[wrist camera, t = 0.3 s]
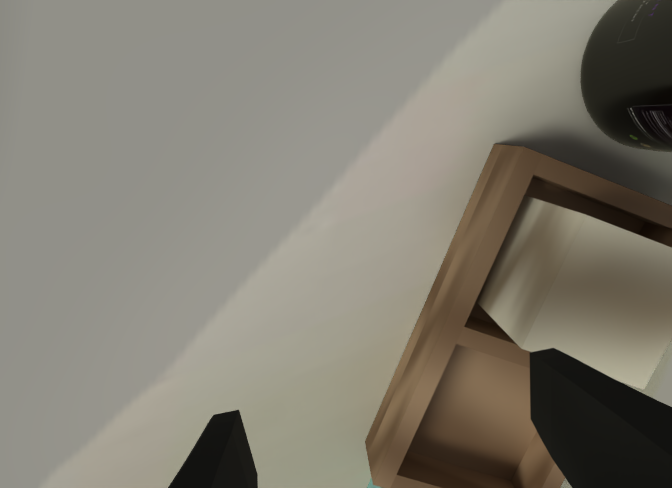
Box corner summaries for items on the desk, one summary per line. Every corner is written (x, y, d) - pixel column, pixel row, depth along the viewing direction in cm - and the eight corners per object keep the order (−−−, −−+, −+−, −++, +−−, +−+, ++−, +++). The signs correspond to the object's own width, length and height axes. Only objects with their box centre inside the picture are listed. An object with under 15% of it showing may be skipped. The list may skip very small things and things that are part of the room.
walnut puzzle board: (510, 483, 25) (570, 591, 19) (365, 441, 24) (383, 541, 18) (653, 207, 22) (777, 235, 16) (493, 143, 21) (566, 150, 15)
